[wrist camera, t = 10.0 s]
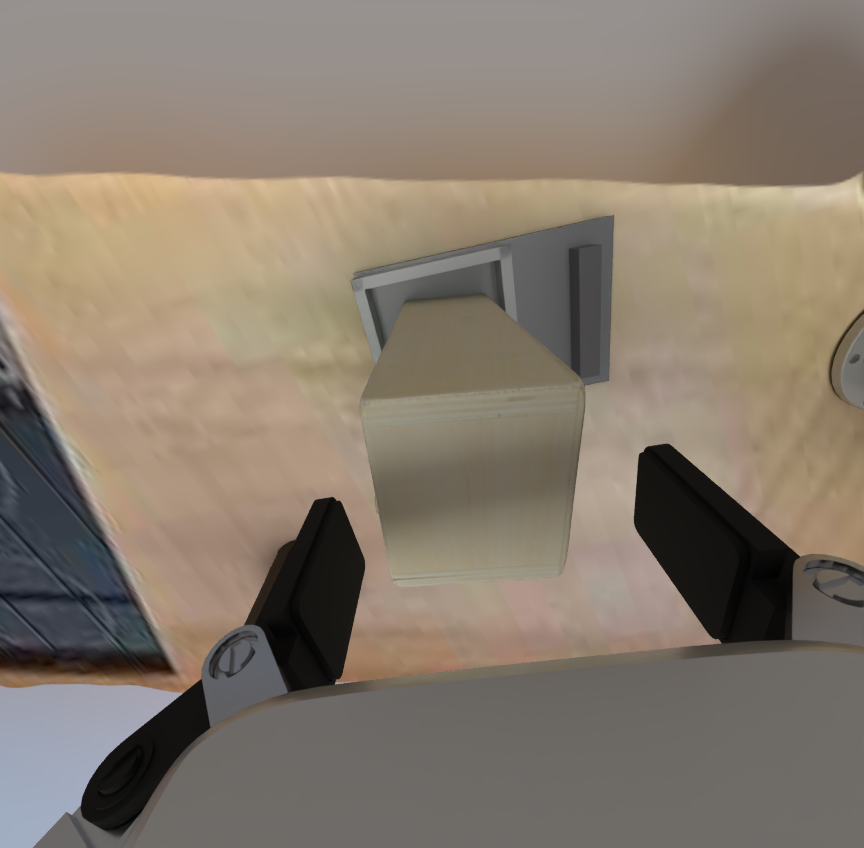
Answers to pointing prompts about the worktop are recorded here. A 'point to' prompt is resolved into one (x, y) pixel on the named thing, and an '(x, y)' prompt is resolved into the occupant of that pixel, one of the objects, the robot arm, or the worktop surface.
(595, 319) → the tray
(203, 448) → the worktop surface
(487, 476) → the beige tall block
